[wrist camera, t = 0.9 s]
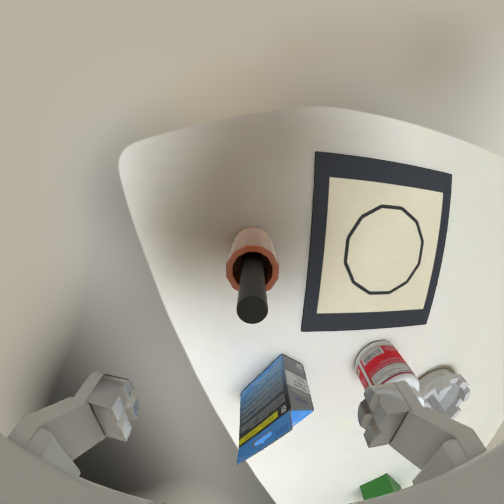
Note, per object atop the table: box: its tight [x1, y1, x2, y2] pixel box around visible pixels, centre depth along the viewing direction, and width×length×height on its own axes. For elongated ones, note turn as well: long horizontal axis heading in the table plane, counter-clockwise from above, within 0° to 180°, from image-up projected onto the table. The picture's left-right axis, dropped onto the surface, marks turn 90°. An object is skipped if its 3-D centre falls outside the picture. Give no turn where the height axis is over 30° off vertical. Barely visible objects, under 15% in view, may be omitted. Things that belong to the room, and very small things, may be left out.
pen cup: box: [226, 227, 279, 291], centre depth 25 cm, size 4×4×8 cm
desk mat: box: [301, 152, 452, 332], centre depth 29 cm, size 20×18×1 cm
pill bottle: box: [355, 341, 424, 406], centre depth 27 cm, size 6×6×11 cm
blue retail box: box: [237, 355, 314, 465], centre depth 28 cm, size 9×4×12 cm, turn 144°
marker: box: [237, 252, 268, 324], centre depth 22 cm, size 2×2×14 cm
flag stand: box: [418, 369, 470, 419], centre depth 21 cm, size 13×13×30 cm
